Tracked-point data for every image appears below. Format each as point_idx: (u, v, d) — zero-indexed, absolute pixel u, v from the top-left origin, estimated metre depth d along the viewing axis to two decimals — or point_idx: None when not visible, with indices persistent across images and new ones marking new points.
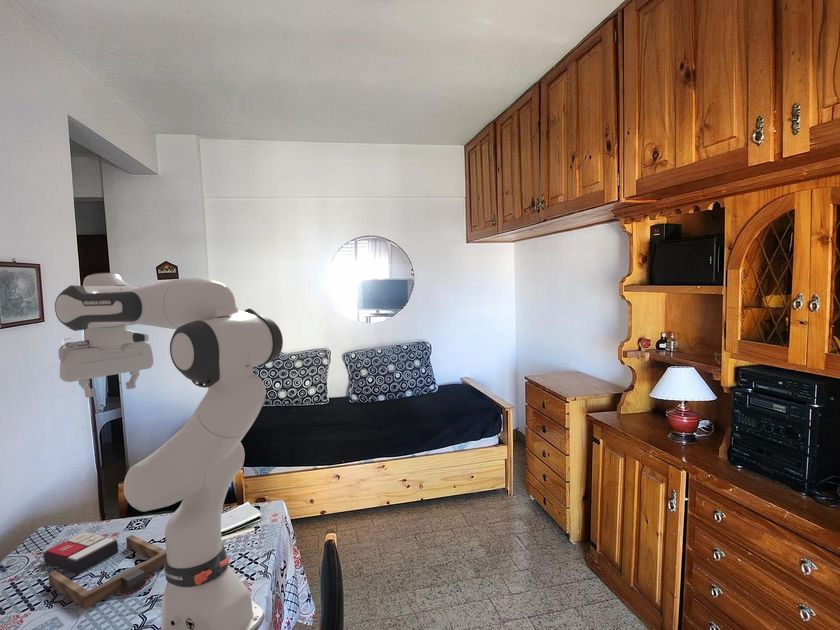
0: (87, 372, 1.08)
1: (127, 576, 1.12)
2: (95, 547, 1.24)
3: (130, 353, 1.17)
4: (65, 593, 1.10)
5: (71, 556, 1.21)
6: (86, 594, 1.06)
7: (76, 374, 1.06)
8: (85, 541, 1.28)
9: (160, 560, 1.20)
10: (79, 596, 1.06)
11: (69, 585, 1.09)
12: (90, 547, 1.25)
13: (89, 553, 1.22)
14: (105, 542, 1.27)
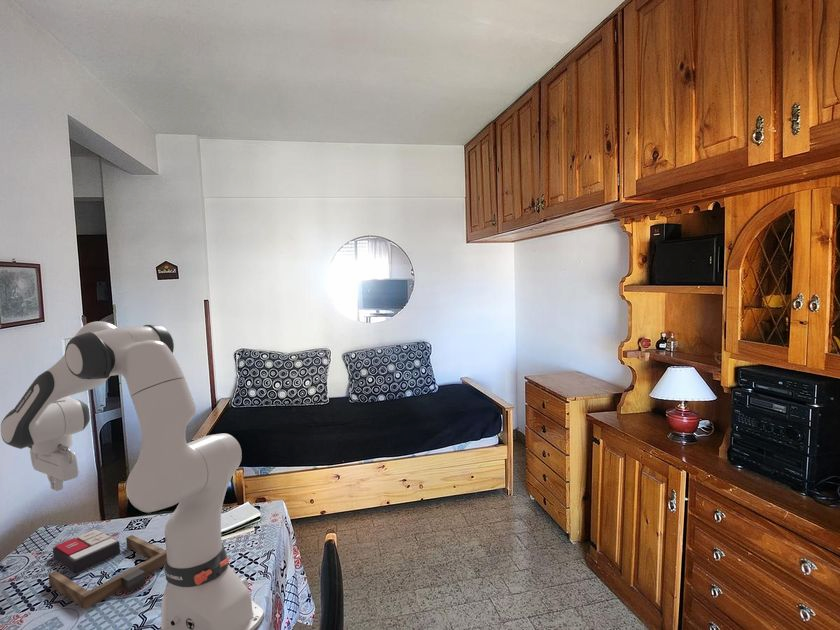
0: None
1: (127, 576, 1.12)
2: (96, 547, 1.24)
3: None
4: (65, 593, 1.10)
5: (72, 555, 1.21)
6: (86, 594, 1.06)
7: None
8: (91, 539, 1.29)
9: (160, 560, 1.20)
10: (79, 596, 1.06)
11: (69, 585, 1.09)
12: (92, 547, 1.25)
13: (89, 553, 1.22)
14: (107, 543, 1.26)
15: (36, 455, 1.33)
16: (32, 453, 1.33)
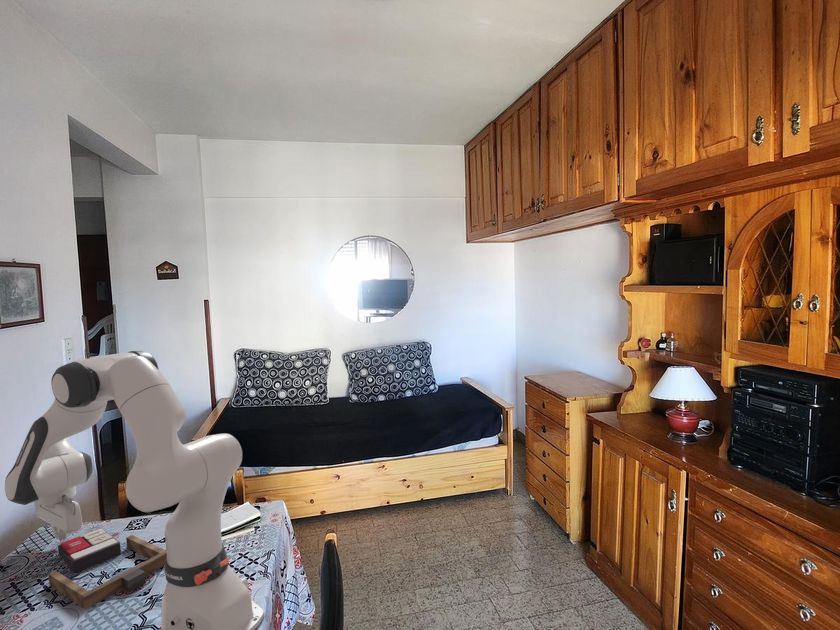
0: None
1: (127, 576, 1.12)
2: (97, 548, 1.24)
3: None
4: (65, 593, 1.10)
5: (73, 554, 1.22)
6: (86, 594, 1.06)
7: None
8: (94, 539, 1.29)
9: (160, 560, 1.20)
10: (79, 596, 1.06)
11: (69, 585, 1.09)
12: (93, 547, 1.25)
13: (89, 554, 1.22)
14: (108, 544, 1.26)
15: (40, 504, 1.34)
16: (36, 502, 1.34)
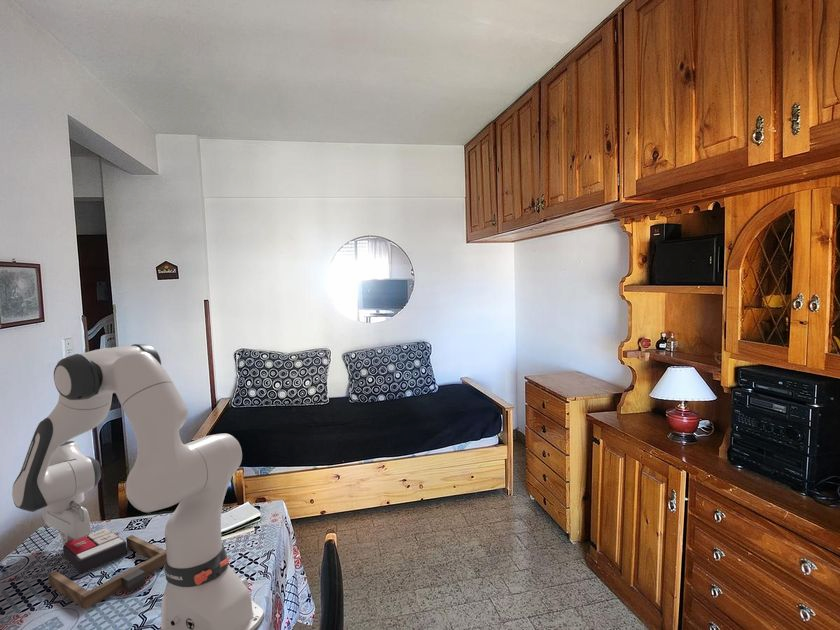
0: None
1: (127, 576, 1.12)
2: (103, 547, 1.24)
3: None
4: (65, 593, 1.10)
5: (79, 554, 1.21)
6: (86, 594, 1.06)
7: None
8: (99, 538, 1.29)
9: (160, 560, 1.20)
10: (79, 596, 1.06)
11: (69, 585, 1.09)
12: (99, 546, 1.24)
13: (95, 553, 1.21)
14: (114, 543, 1.26)
15: None
16: (44, 508, 1.31)
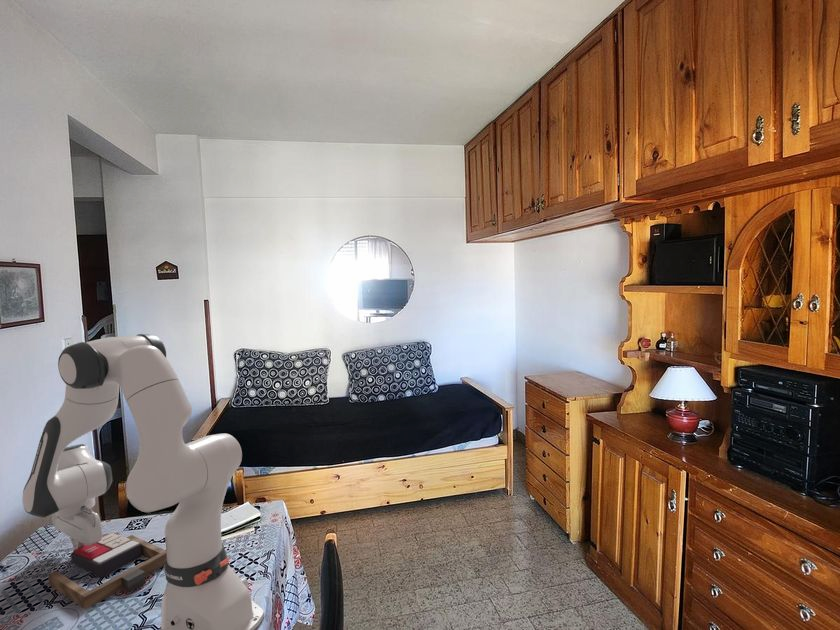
0: None
1: (127, 576, 1.12)
2: (119, 550, 1.22)
3: None
4: (65, 593, 1.10)
5: (95, 558, 1.19)
6: (86, 594, 1.06)
7: None
8: (111, 543, 1.26)
9: (160, 560, 1.20)
10: (79, 596, 1.06)
11: (69, 585, 1.09)
12: (115, 550, 1.23)
13: (113, 556, 1.20)
14: (130, 546, 1.24)
15: None
16: (53, 513, 1.28)
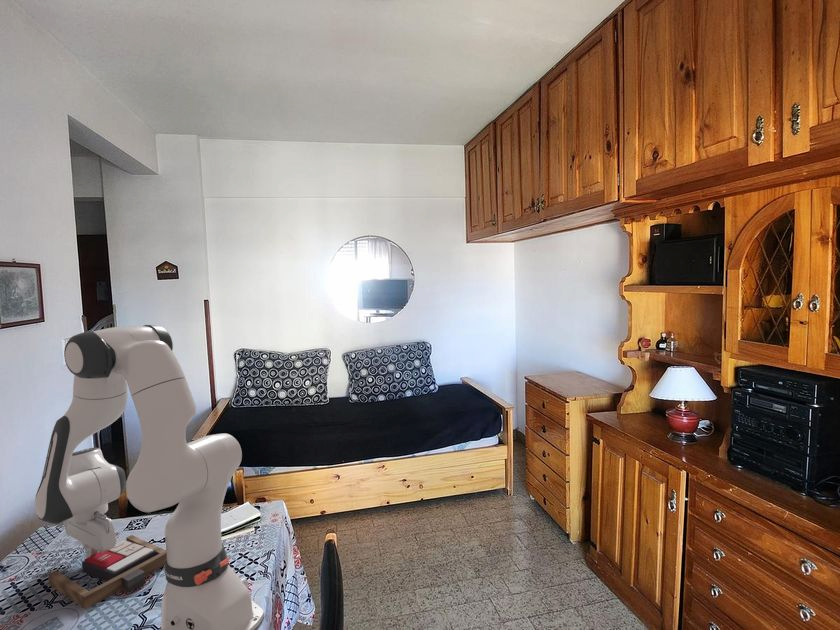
0: None
1: (127, 576, 1.12)
2: (134, 557, 1.19)
3: None
4: (65, 593, 1.10)
5: (110, 567, 1.15)
6: (86, 594, 1.06)
7: None
8: (123, 550, 1.22)
9: (160, 560, 1.20)
10: (79, 596, 1.06)
11: (69, 585, 1.09)
12: (129, 557, 1.19)
13: (128, 564, 1.16)
14: (144, 553, 1.21)
15: (69, 520, 1.25)
16: None
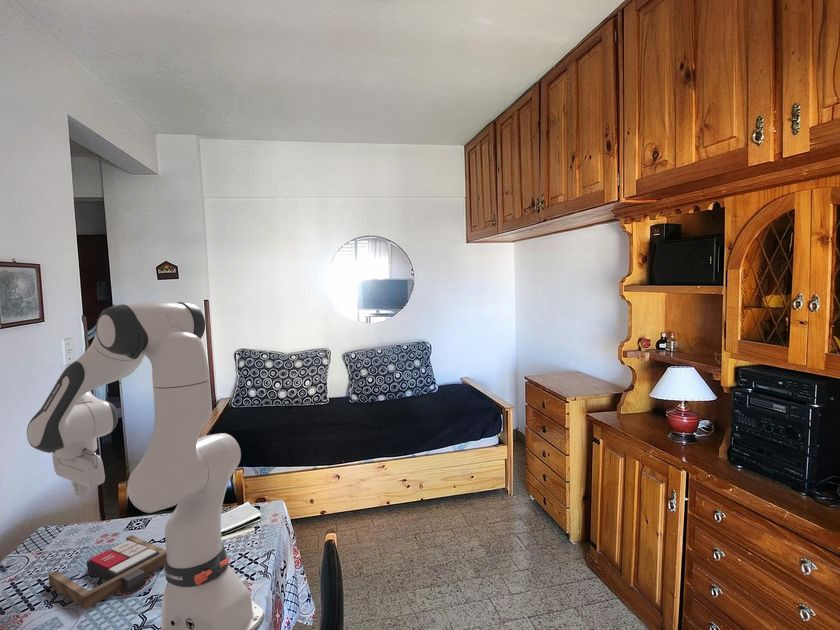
0: None
1: (127, 576, 1.12)
2: (136, 559, 1.18)
3: None
4: (65, 593, 1.10)
5: (112, 568, 1.15)
6: (86, 594, 1.06)
7: None
8: (127, 551, 1.22)
9: (160, 560, 1.20)
10: (79, 596, 1.06)
11: (69, 585, 1.09)
12: (131, 559, 1.18)
13: (130, 566, 1.16)
14: (147, 554, 1.20)
15: (59, 460, 1.25)
16: (55, 458, 1.25)
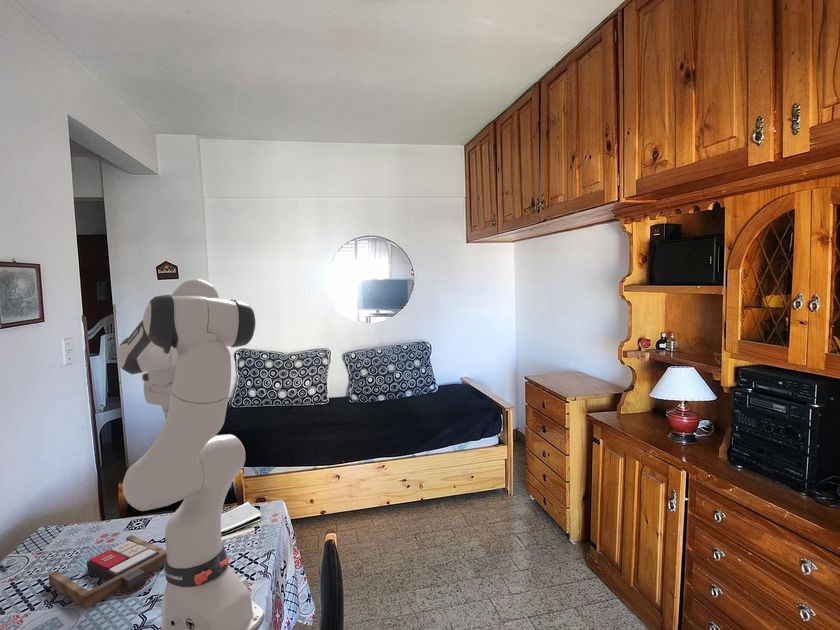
0: None
1: (127, 576, 1.12)
2: (136, 559, 1.18)
3: None
4: (65, 593, 1.10)
5: (112, 568, 1.15)
6: (86, 594, 1.06)
7: None
8: (127, 551, 1.22)
9: (160, 560, 1.20)
10: (79, 596, 1.06)
11: (69, 585, 1.09)
12: (131, 559, 1.18)
13: (130, 566, 1.16)
14: (147, 554, 1.20)
15: (150, 388, 1.39)
16: (146, 386, 1.39)
